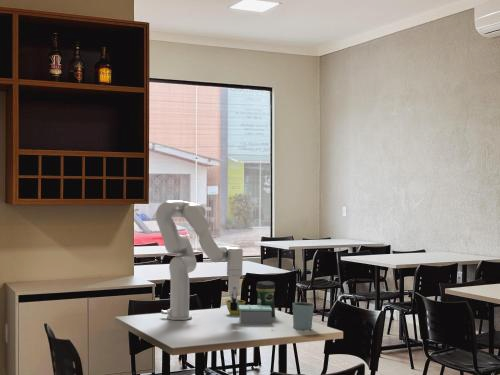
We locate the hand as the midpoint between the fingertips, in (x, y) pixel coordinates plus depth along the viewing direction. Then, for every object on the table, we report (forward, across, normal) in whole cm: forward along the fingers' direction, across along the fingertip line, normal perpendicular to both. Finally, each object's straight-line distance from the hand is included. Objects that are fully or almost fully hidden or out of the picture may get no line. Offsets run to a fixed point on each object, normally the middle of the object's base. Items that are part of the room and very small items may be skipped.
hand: (233, 309), depth 343 cm
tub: (+6, 0, +11) cm, 13 cm away
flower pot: (+7, -23, +2) cm, 24 cm away
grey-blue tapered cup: (+6, +15, +32) cm, 36 cm away
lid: (0, 0, +9) cm, 9 cm away
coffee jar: (+7, -16, +17) cm, 24 cm away
